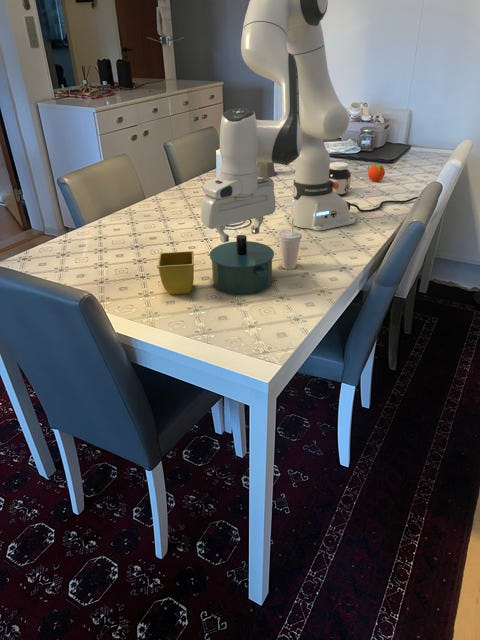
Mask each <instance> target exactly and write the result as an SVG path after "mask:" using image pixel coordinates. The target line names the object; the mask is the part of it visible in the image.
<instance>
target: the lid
mask: <svg viewBox="0 0 480 640" xmlns="http://www.w3.org/2000/svg"><path fill="white" fill-rule="evenodd" d="M235 240H236V241H228V242H225V243H221V244H219V245H217V246H215V247H213V249H211V251H210V252H209V259H210V260H211V263H212V262H214V263H215V264H217V265H219V266H222V267H226V268H232V269H248V268H255V267H259V266H262V265H265V264H267V263H269V262H270V261H271V260H272V261H273V259H274V258H275V252H274V250H273V249H272V247H271V246H269V245H267V244H265V243H261V242H257V241H250V240H248V238H247V235H246V234H238V235H236V239H235Z"/></svg>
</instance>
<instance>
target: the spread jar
mask: <svg viewBox="0 0 480 640" xmlns="http://www.w3.org/2000/svg"><path fill="white" fill-rule="evenodd" d="M348 167H349V164H348V163H346V162H341V161H335V162H330V168H329V180H331V181H333V182H336V183H338V184H339V186H338V187H339V188H338V189H334V188H333V191H334V192H335V193H336V194H338V195H339V196H340V197H341V198H342V197H344V196H346V195H347V194H348V193H349V191H350V188H351V181H352V174H351V171H350V170H349V169H348Z"/></svg>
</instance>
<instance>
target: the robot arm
mask: <svg viewBox="0 0 480 640" xmlns="http://www.w3.org/2000/svg"><path fill="white" fill-rule="evenodd" d="M328 4H329V0H246V1H245V5H244V14H245V16H244V20H243V26H242V33H241V38H240V39H241V40H240V55H241V57H242V60H243V62H244V64H245V65H246V66H247V68H249V70H251V71H252V72H253V73H255V74H256V75H258V76H260V77H263V78H265V79H268V80H270V81H271V82H273V83H276V85H278V86H279V87H280V93H281V117H280V118H279V119H275V120H274V119H273V120H271V119H257V118H256V113H255V111H254V110H253V109H250V108H247V107H234V108H230V109H228V110H226V111H225V112H223V113H222V114H221V119H220V126H219V154H220V157H221V165H220V173H219V174H218V175H217V176H215V177H214V178H212V179H211V180H209V181H207V182H205V183H204V184H203V185H202V192H203V194H205V195H204V196H203V197H202V200H201V212H200V216H201V224H203V226H204V227H206V228H208V229H210V230H214V229H215V230H216V231H217V233H218V235H219V240H220V242H221V243H222V244H225V243H229V242H230V235H229V234H227V233H225V231H226V226H230V225H234V224H239V223H242V222H247V221H249V220H253V219H254V223H253V225H251V226H250V229H251V230H250V233H251V234H252V235H257V234H260V227H261V226H262V224H263V222H264V217H266V216H270V215H273V214H274V213H275V211H276V196H275V181H274V180H273V179H272V178H270V177H261V178H259V176H258V167H257V162H272V163H274V164H275V165H283V166H289V165H290V164H292V163H293V162H294V172H295V173H294V179H293V184H292V197H293V199H292V205H291V206H292V207H291V212H290V216H289V218H288V223H289V224H290V225H292V218H294V226H293V227H297V228H301V229H308V230H314V231H325V230H330V229H335V228H339V227H344V226H348V225H353V224H355V223H356V219H355V216H354V215H353V214H351V213H350V210H351V207H355V208H356V210H357V211H359V212H361V213H368V212H369V213H370V212H374V211H378V210H380V209H381V208H382V207H383V205H384V204H387V203H389V204H390V203H392V204H393V203H397V204H398V203H399V204H400V203H401V204H402V203H403V204H404V203H409V202H411V201H414V200H418V199H417V198H418V197H419V196H414V197H411V198H409V199H405V200H392V199H391V200H383V201H381V202H380V203H379V206H378V207H377V206H376V207H374V208H370V209H362V208H360V206H359V205H357V204H355V203H351V202H349V201H348V200H345V199H344V198H343V197H342V196H341V197H340V196H339V195H338V194H336V193H335V192H334V191H333V188H334V189H338V188H339V187H338V186H339V184H338V183H336V182H333V181H331V180H329V169H330V164H331V155H330V153H329V151H328V150H327V148H326V145H325V142H324V140H325V141H327V140H336V139H338V138H340V137H342V136H343V135H344V134H345V132H346V131H347V129H348V128H349V123H350V115H349V111H348V110H347V108H346V107H345V105H343V104H342V102H341V101H340V99H339V97H338V95H337V93H336V91H335V88H334V85H333V83H332V80H331V76H330V73H329V67H328V60H327V56H326V55H327V54H326V45H325V38H324V32H323V28H322V24H321V21H322V20H323V19H324V17H325V15H326V13H327V11H328Z"/></svg>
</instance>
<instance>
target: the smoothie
mask: <svg viewBox="0 0 480 640" xmlns="http://www.w3.org/2000/svg"><path fill="white" fill-rule="evenodd" d="M290 225H291V226H290V227H291V228H290V229H284V230H281V231H280V232H279V233H278V236H277V237H278V239H279V246H280V255H281V264H282V268H283V269H286V270H293V269H295V268H296V267H297V262H298V255H299V249H300V244H301V240H302V238H303V234H302V232H301V231H299V230H295V229H294V227H295V226H294V218H292V224H290Z"/></svg>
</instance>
